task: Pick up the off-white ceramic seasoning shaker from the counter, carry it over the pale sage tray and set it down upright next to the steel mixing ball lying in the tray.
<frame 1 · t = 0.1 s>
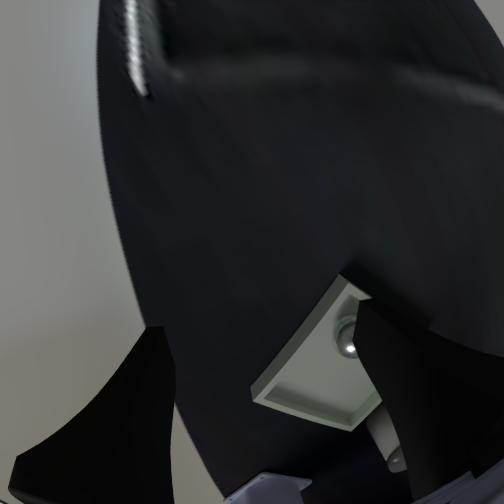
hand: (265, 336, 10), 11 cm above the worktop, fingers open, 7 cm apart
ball: (345, 325, 22), point 1 cm above the worktop, touching tray
shaker: (384, 415, 28), on the worktop
tray: (344, 361, 24), on the worktop
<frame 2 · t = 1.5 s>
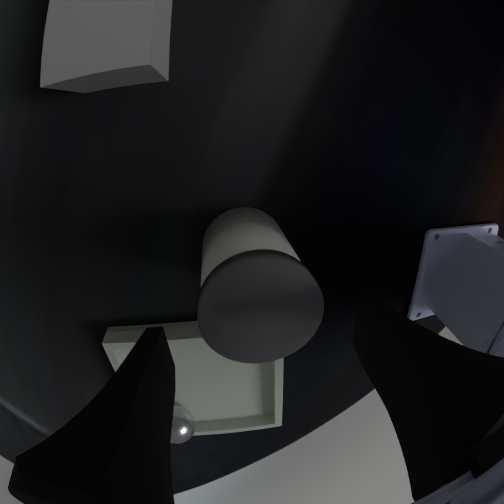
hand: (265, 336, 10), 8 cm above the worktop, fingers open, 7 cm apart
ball: (175, 408, 22), point 1 cm above the worktop, touching tray
shaker: (243, 246, 18), on the worktop
tray: (203, 379, 22), on the worktop
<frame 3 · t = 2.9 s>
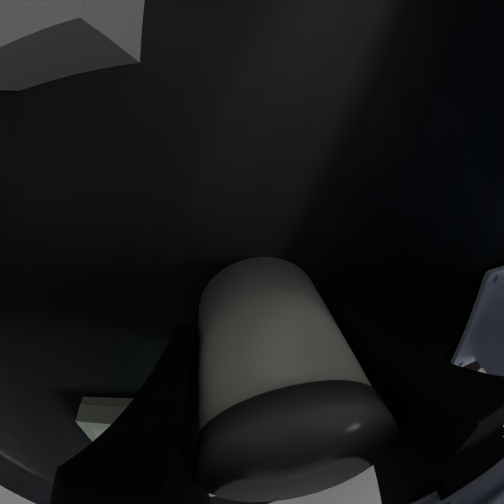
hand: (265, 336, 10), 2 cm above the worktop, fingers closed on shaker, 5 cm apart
shaker: (258, 310, 12), on the worktop, touching gripper
tray: (204, 447, 16), on the worktop
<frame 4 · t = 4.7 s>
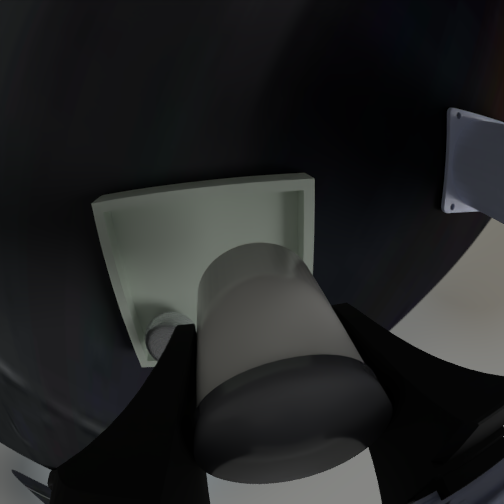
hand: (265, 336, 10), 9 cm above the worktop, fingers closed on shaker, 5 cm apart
smart speaker: (73, 477, 33), on the worktop
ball: (173, 322, 19), point 1 cm above the worktop, touching tray
shaker: (256, 296, 12), point 7 cm above the worktop, touching gripper
tray: (211, 274, 19), on the worktop
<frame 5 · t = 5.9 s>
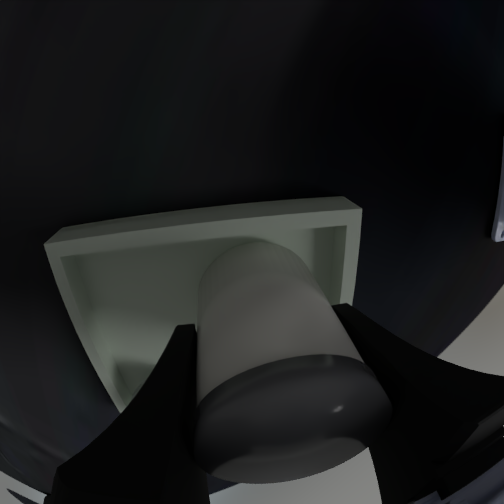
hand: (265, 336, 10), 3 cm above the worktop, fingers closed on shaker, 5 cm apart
smart speaker: (69, 502, 28), on the worktop
shaker: (256, 296, 12), point 1 cm above the worktop, touching gripper
tray: (214, 329, 14), on the worktop
when the fingers open (3 cm above the worktop, at t = 6.5 s): shaker stays where it is, resting on tray.
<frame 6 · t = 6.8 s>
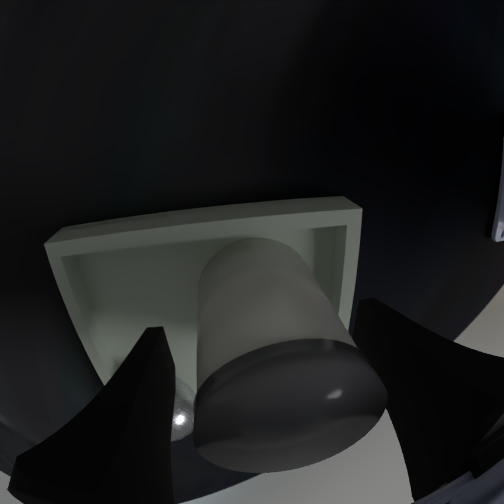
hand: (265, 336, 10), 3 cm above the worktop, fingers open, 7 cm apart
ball: (167, 383, 14), point 1 cm above the worktop, touching tray
shaker: (255, 290, 13), point 1 cm above the worktop, touching tray
tray: (214, 329, 14), on the worktop
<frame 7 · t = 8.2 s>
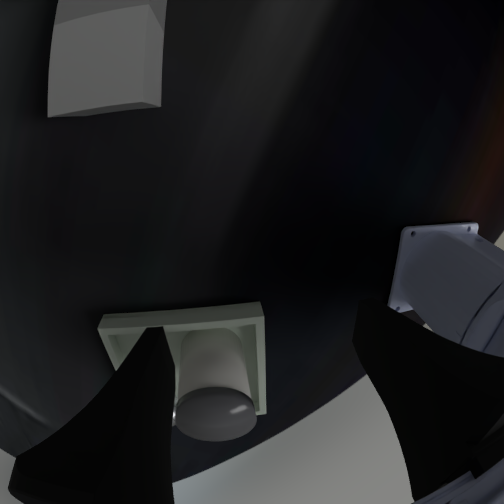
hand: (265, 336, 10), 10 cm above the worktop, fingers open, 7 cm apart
shaker: (211, 349, 22), point 1 cm above the worktop, touching tray
tray: (191, 365, 24), on the worktop
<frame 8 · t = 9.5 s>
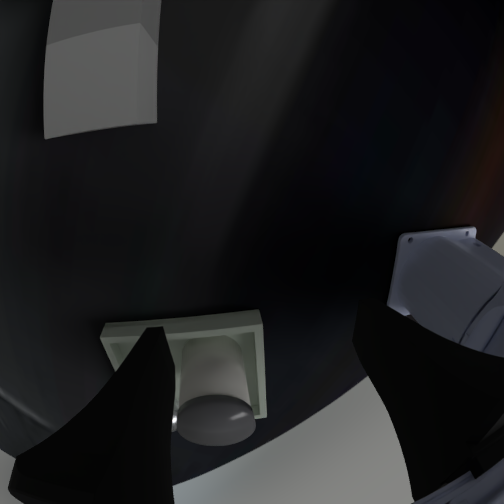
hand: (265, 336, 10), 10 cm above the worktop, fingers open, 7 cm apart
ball: (167, 399, 24), point 1 cm above the worktop, touching tray
shaker: (211, 355, 23), point 1 cm above the worktop, touching tray
tray: (192, 371, 24), on the worktop
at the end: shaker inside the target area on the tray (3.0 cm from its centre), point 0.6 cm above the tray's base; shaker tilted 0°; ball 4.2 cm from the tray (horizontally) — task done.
